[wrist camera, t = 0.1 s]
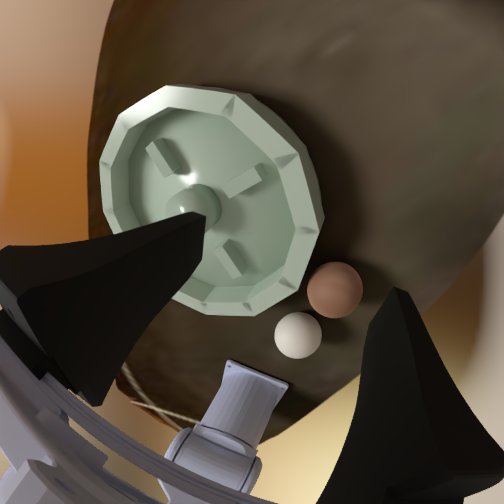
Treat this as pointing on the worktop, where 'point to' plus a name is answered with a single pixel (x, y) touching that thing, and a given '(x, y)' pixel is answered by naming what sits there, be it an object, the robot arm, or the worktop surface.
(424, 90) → the worktop surface
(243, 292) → the tray
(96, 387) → the robot arm
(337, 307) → the terracotta bead
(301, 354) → the ivory bead
